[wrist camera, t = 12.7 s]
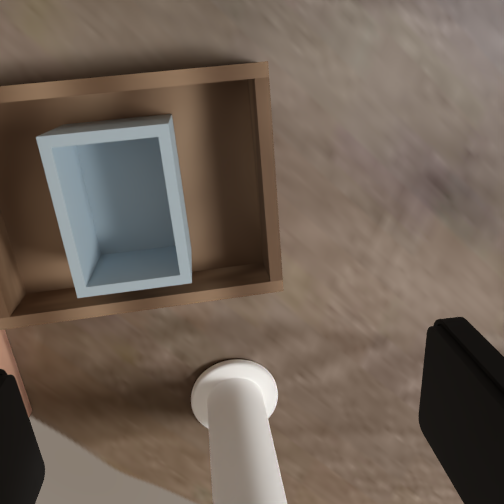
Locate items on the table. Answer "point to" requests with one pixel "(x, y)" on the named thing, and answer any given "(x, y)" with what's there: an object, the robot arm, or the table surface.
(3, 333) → the terracotta crate
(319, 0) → the table surface
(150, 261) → the bluegrey crate
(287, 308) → the table surface
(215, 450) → the candle
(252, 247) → the walnut crate
